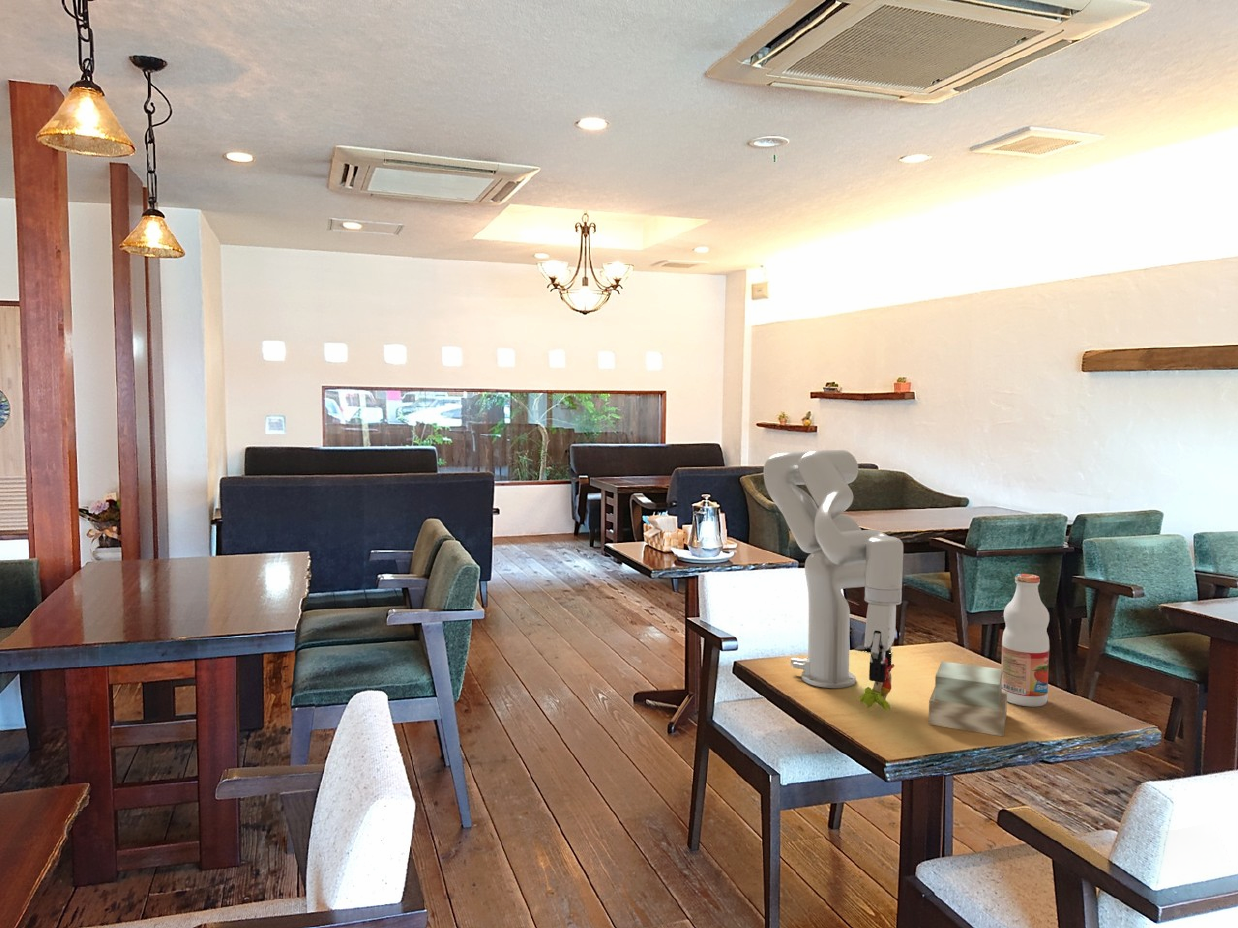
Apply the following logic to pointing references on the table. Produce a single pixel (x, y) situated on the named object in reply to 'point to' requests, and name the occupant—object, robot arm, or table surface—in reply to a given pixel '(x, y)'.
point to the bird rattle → (879, 691)
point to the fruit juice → (1025, 645)
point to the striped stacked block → (968, 699)
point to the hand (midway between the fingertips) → (880, 675)
